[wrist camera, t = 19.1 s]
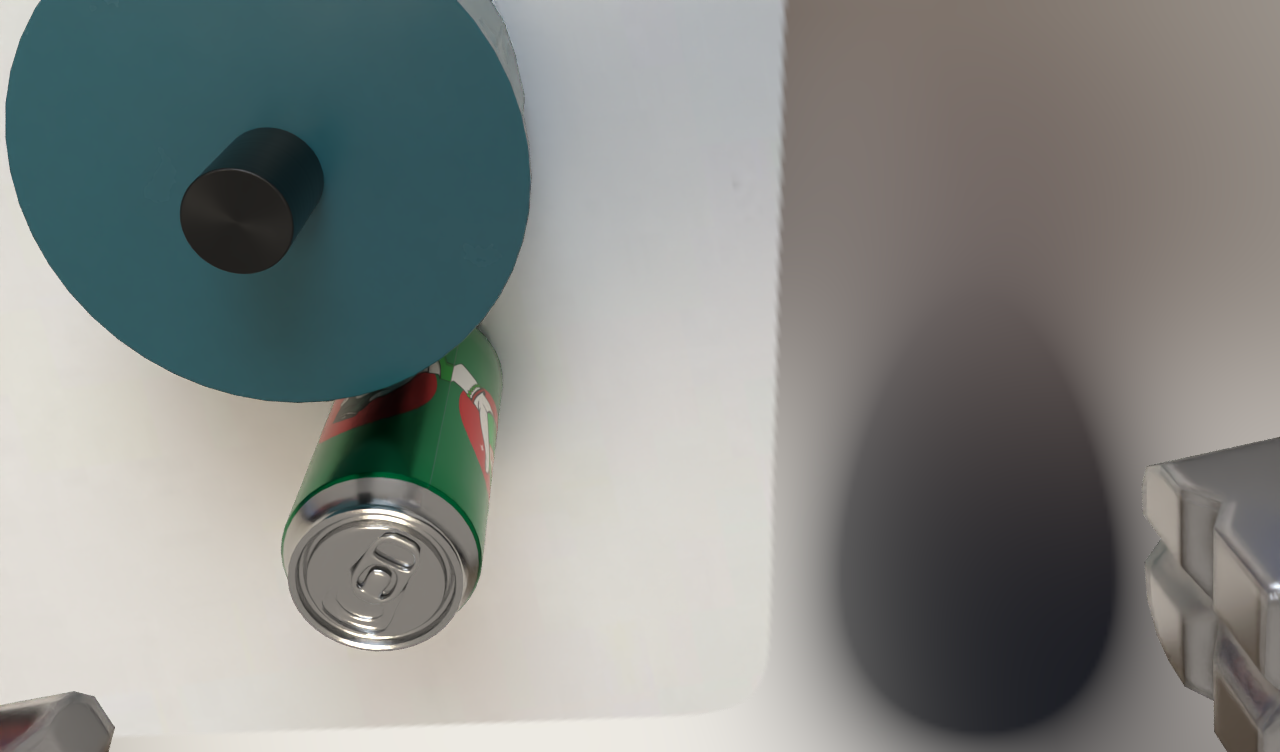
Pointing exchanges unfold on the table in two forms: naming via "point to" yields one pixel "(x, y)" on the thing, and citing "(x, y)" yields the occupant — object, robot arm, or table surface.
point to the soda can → (398, 504)
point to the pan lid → (272, 182)
